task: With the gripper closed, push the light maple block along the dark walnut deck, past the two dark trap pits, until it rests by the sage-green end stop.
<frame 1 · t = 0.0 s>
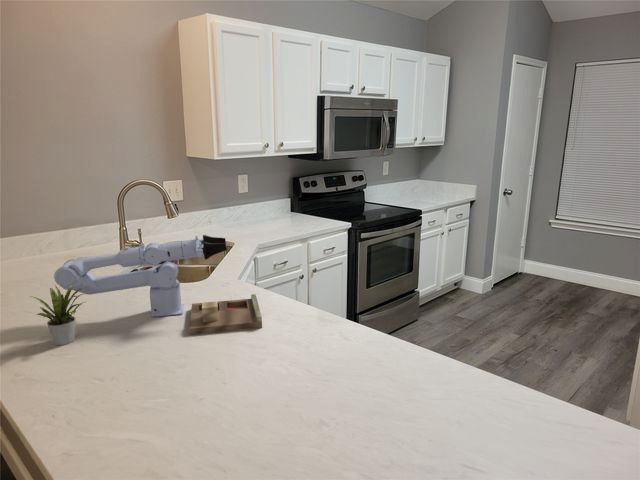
hand: (226, 243, 148), 22 cm above the worktop, fingers open, 7 cm apart
house plant: (69, 341, 129), on the worktop
maple block: (210, 318, 139), point 2 cm above the worktop, touching trap deck
trap deck: (225, 318, 144), on the worktop
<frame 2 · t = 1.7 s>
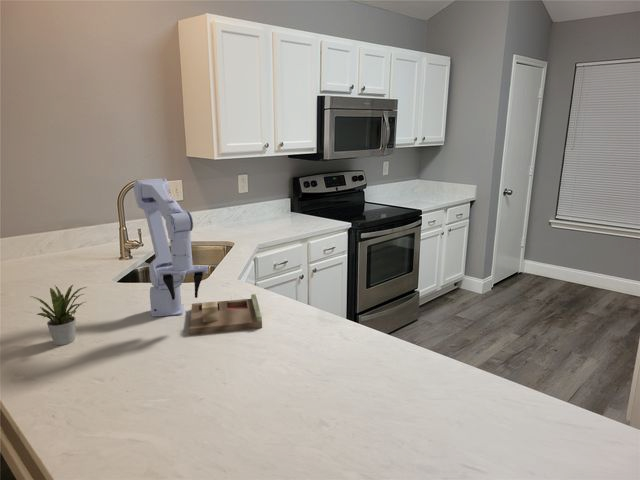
hand: (185, 297, 135), 9 cm above the worktop, fingers open, 6 cm apart
nothing on the worktop moved.
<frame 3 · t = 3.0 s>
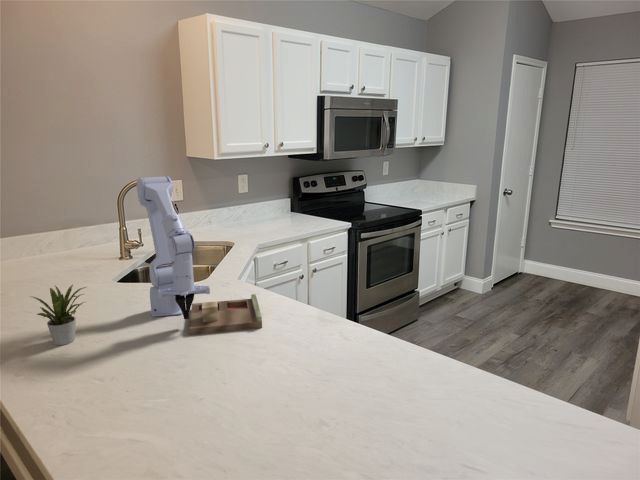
hand: (186, 317, 137), 3 cm above the worktop, fingers closed
nothing on the worktop moved.
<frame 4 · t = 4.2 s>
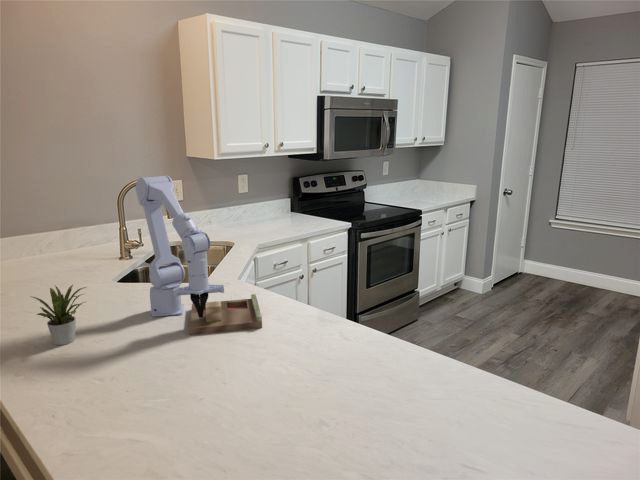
hand: (201, 316, 138), 3 cm above the worktop, fingers closed
maple block: (214, 318, 139), point 2 cm above the worktop, touching gripper
everything else where it was.
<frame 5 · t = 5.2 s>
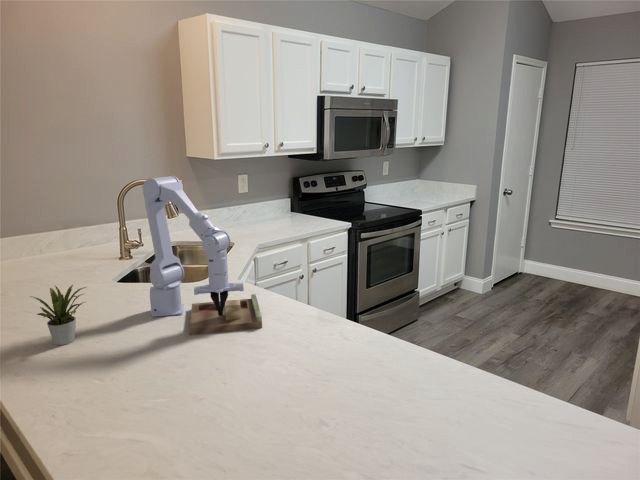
hand: (220, 314, 139), 3 cm above the worktop, fingers closed
maple block: (233, 316, 140), point 2 cm above the worktop, touching gripper, trap deck
everything else where it was.
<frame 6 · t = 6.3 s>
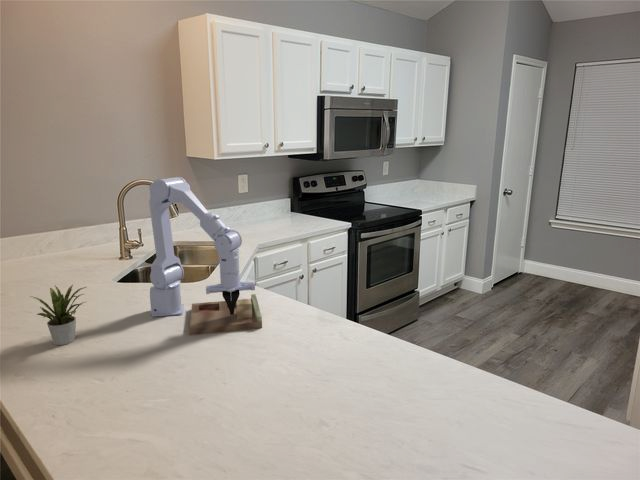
hand: (231, 313, 140), 3 cm above the worktop, fingers closed
maple block: (244, 315, 141), point 2 cm above the worktop, touching gripper, trap deck
everything else where it was.
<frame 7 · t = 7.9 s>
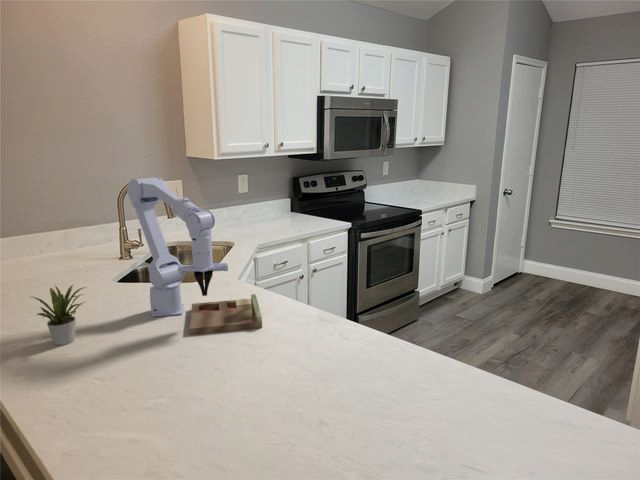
hand: (204, 294, 138), 9 cm above the worktop, fingers closed
maple block: (244, 315, 141), point 2 cm above the worktop, touching trap deck
everything else where it was.
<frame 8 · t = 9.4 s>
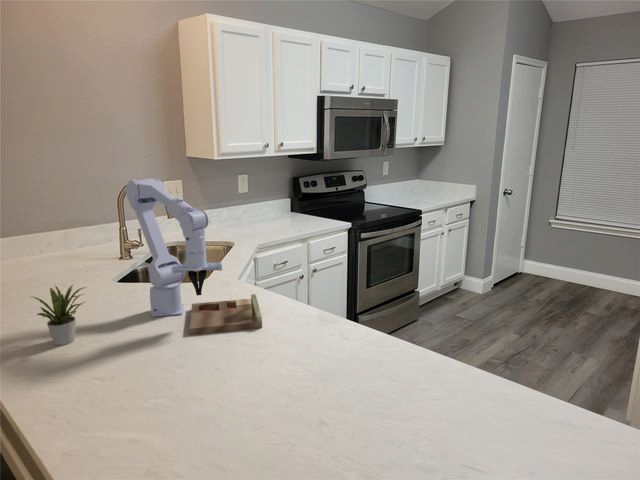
hand: (199, 294, 138), 9 cm above the worktop, fingers closed
nothing on the worktop moved.
at the end: maple block 0.2 cm from the target spot, point 2.0 cm above the worktop; maple block tilted 0° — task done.
